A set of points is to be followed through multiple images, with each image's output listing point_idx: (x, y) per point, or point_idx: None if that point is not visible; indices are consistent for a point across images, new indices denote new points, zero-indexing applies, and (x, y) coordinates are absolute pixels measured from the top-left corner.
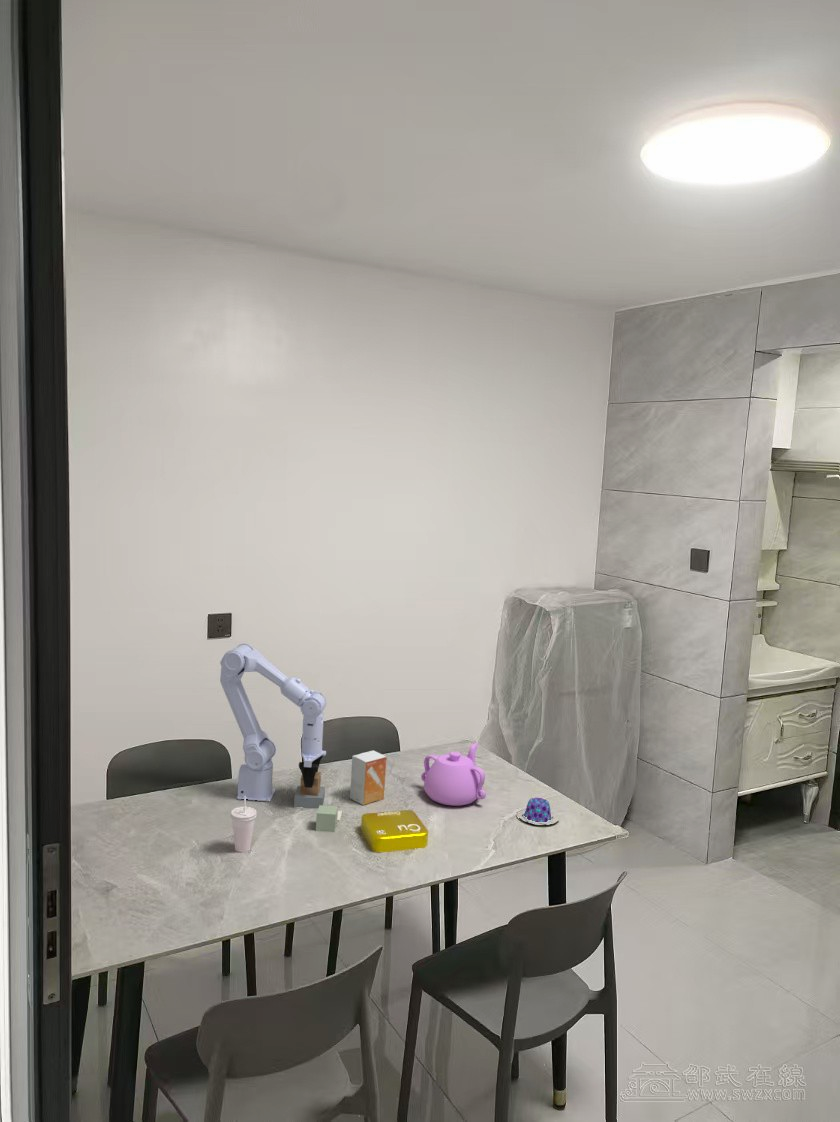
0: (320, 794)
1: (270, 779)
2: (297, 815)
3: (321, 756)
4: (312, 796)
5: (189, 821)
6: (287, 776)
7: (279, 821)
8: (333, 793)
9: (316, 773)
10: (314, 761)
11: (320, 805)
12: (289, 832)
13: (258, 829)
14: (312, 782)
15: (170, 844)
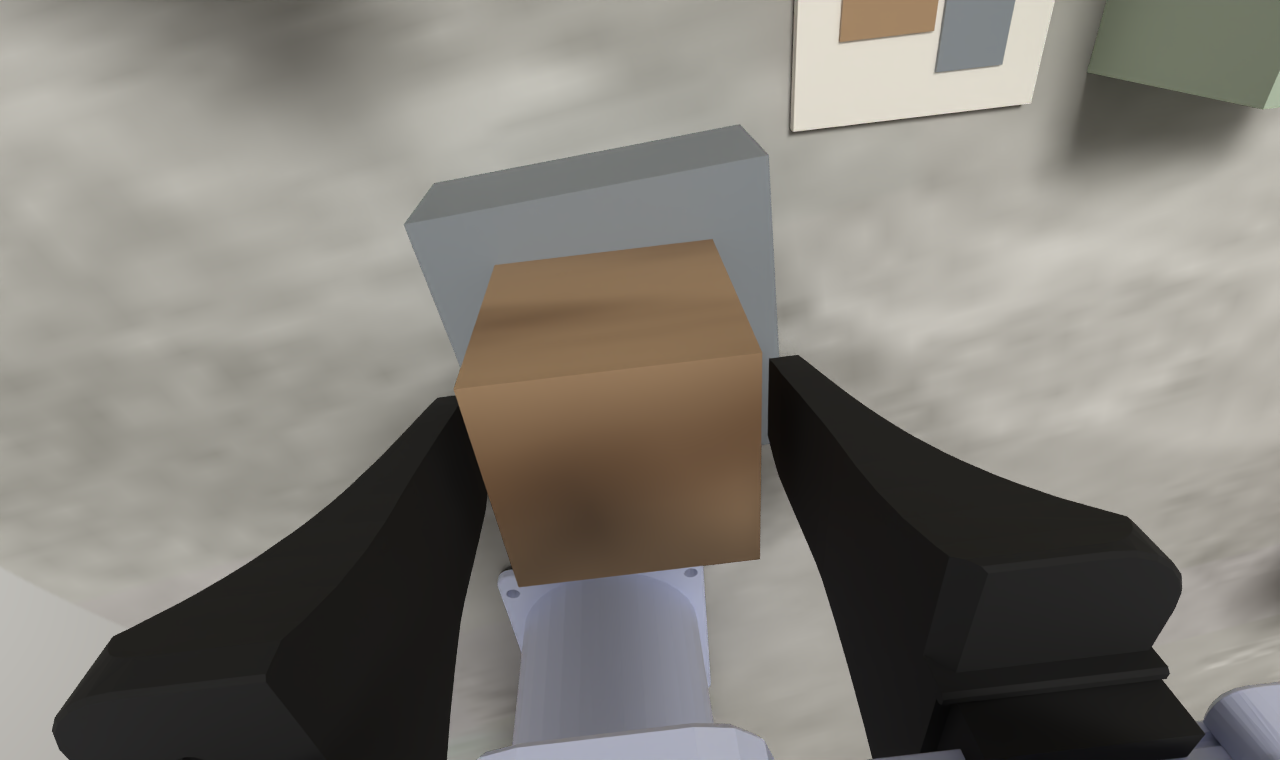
0: (662, 216)
1: (637, 698)
2: (915, 312)
3: (304, 650)
4: (737, 289)
5: None
6: (193, 576)
7: (1025, 403)
8: (291, 105)
9: (538, 434)
10: (406, 626)
11: (1274, 91)
12: (1246, 281)
13: (1138, 479)
14: (836, 393)
15: None
